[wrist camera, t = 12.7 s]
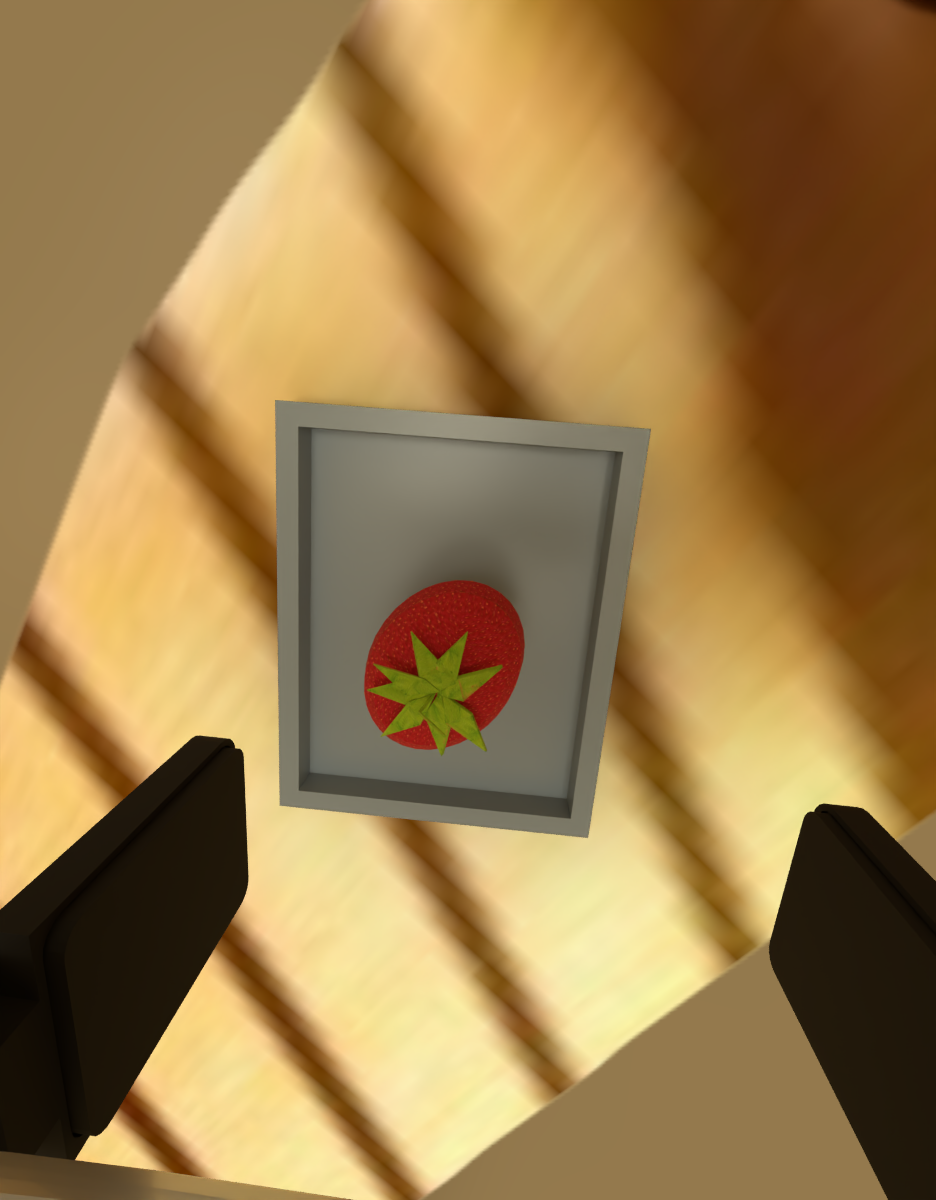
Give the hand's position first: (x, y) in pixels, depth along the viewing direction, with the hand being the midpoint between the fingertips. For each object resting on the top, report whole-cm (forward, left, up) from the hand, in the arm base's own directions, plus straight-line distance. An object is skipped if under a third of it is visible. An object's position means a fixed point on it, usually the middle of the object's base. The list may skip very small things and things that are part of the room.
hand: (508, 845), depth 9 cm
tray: (+3, +2, -19) cm, 19 cm away
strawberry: (+2, +2, -19) cm, 19 cm away
